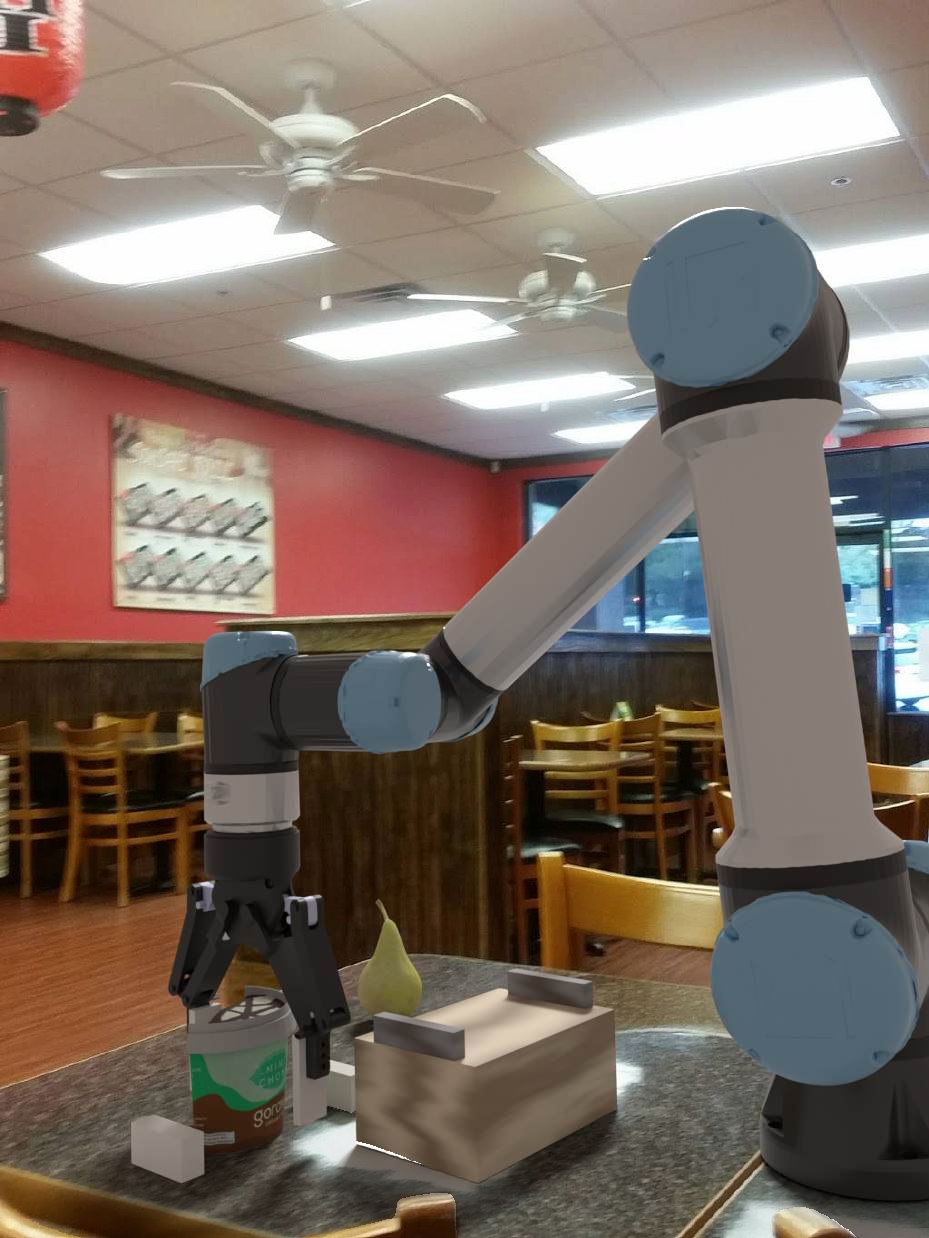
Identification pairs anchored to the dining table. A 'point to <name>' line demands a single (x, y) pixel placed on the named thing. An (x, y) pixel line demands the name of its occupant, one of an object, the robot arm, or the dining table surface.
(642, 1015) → the dining table surface
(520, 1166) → the dining table surface
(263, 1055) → the food container
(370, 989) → the fruit
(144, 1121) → the pair of white blocks
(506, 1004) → the wooden stand
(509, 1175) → the dining table surface
